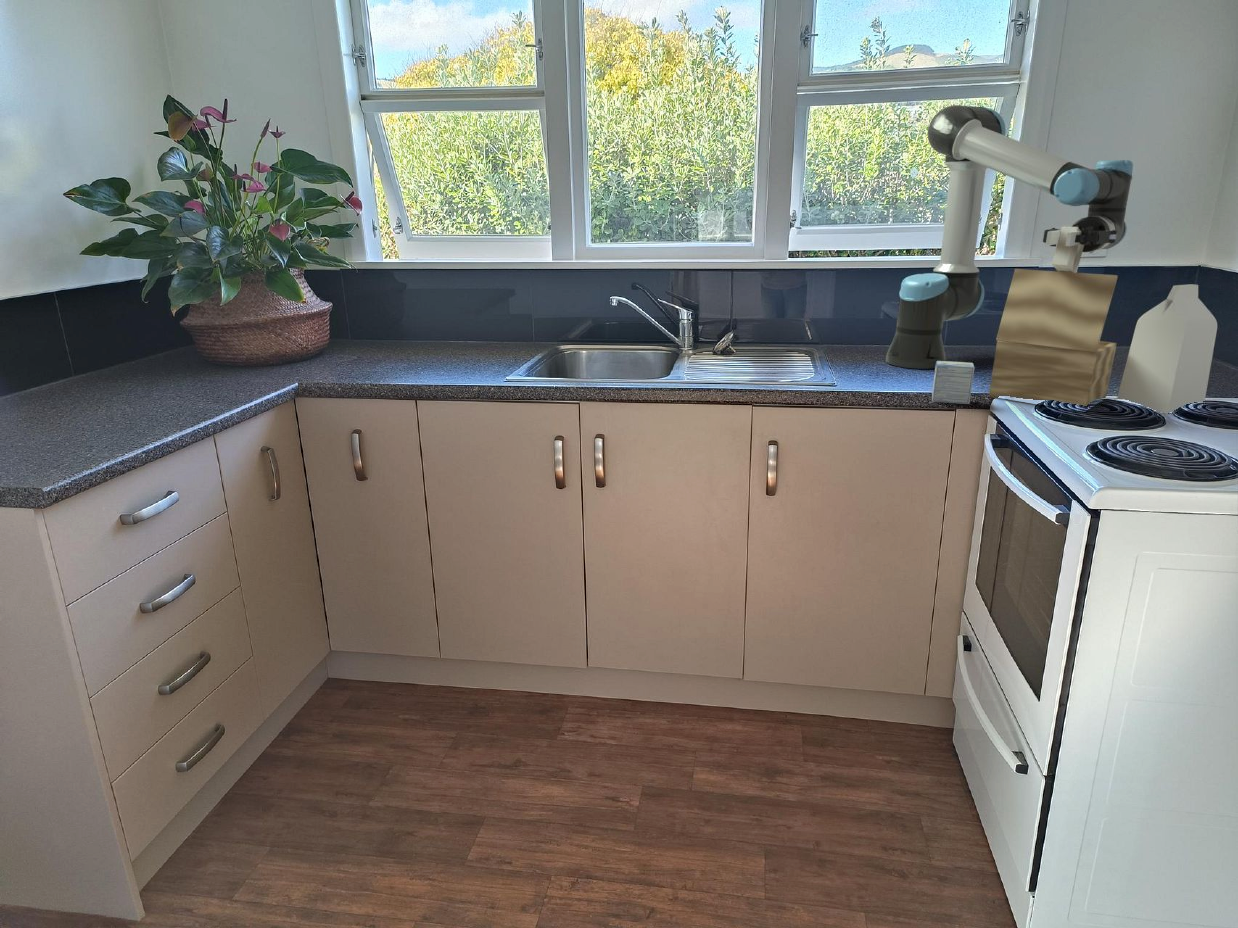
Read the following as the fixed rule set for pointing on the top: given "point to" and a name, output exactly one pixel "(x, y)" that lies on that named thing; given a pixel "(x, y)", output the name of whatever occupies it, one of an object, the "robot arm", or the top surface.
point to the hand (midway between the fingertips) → (1058, 238)
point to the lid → (1058, 303)
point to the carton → (1051, 372)
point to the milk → (1171, 353)
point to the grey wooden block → (953, 382)
